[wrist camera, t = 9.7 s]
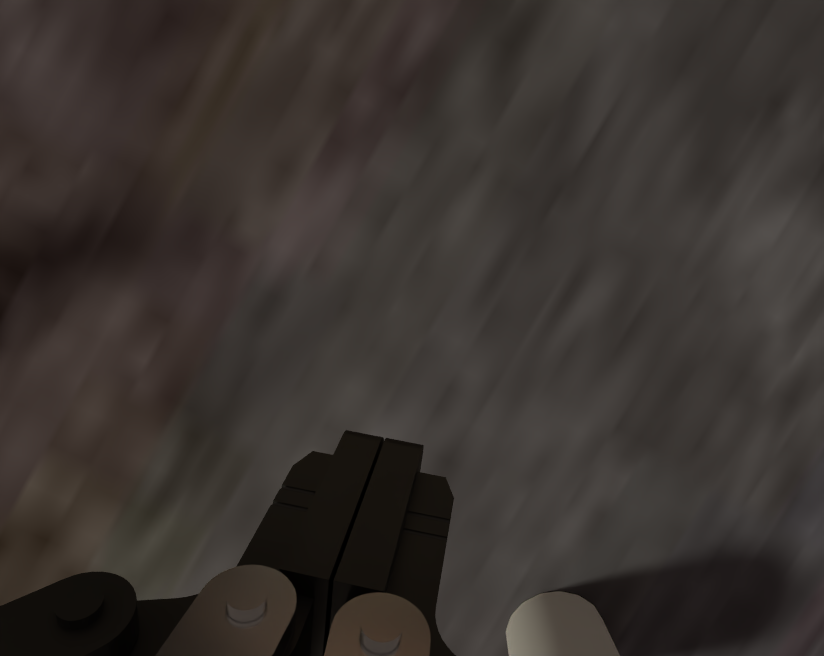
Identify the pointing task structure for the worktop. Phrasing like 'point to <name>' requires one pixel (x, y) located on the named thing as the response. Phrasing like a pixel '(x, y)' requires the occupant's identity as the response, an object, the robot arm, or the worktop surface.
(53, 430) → the worktop surface
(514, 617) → the white cup
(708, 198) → the worktop surface
